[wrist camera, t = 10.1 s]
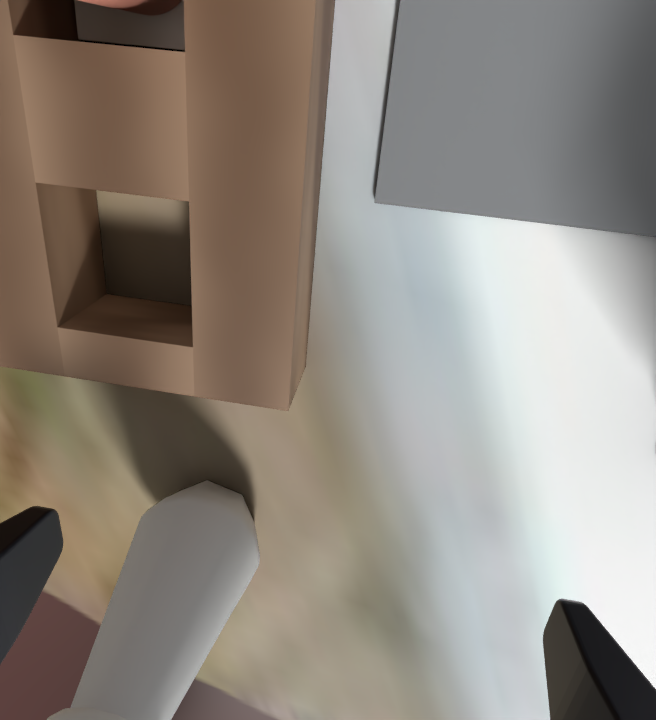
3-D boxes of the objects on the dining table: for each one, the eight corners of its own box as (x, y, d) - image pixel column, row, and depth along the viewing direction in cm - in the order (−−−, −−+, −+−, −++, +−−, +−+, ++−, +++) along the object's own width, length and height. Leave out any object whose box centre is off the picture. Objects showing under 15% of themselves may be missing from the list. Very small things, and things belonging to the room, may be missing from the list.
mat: (816, -152, 14) (824, -157, 14) (668, 236, 19) (672, 238, 18) (422, -176, 15) (423, -181, 14) (374, 201, 19) (374, 203, 19)
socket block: (353, -231, 14) (336, -316, 11) (305, 366, 23) (288, 411, 20) (-66, -253, 16) (-186, -337, 12) (34, 326, 24) (-23, 362, 21)
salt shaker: (174, 448, 26) (-20, 742, 14) (286, 494, 26) (185, 818, 15) (147, 530, 28) (-34, 832, 17) (249, 571, 29) (138, 895, 17)
